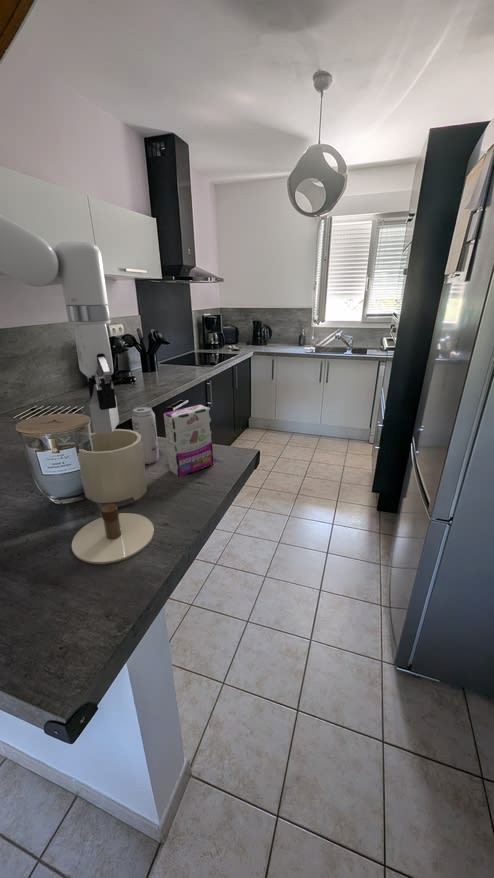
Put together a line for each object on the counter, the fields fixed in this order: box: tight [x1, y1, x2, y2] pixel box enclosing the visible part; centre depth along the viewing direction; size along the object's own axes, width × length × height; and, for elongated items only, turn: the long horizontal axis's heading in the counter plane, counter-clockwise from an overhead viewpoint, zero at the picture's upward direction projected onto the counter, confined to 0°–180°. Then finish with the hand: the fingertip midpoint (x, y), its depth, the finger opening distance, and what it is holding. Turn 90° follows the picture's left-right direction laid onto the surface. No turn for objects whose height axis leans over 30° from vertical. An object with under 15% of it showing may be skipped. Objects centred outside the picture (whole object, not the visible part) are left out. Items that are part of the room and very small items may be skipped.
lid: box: [71, 503, 155, 565], centre depth 66 cm, size 15×15×7 cm
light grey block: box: [88, 381, 120, 433], centre depth 75 cm, size 4×7×10 cm, turn 7°
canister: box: [78, 428, 148, 507], centre depth 81 cm, size 14×14×14 cm
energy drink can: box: [131, 406, 160, 465], centre depth 96 cm, size 6×6×15 cm
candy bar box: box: [163, 404, 214, 477], centre depth 92 cm, size 11×5×16 cm, turn 131°
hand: (103, 403), depth 75 cm, fingers closed on light grey block, 7 cm apart
